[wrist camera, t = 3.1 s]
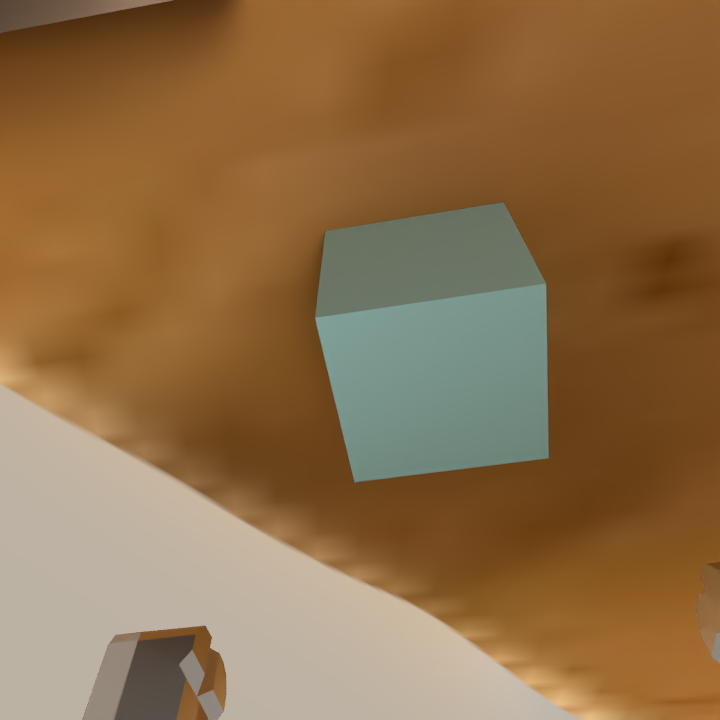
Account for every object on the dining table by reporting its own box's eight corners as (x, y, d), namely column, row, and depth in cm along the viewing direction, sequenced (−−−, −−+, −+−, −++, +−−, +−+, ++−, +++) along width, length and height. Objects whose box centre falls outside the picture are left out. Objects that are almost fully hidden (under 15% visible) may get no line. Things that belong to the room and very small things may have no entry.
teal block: (503, 201, 18) (546, 283, 14) (510, 351, 21) (548, 458, 16) (325, 230, 18) (314, 317, 14) (355, 373, 21) (354, 481, 17)
